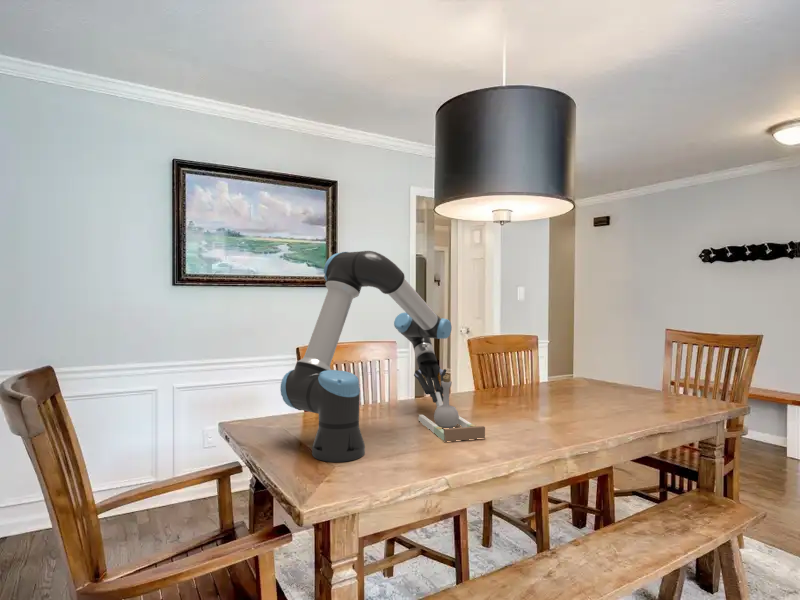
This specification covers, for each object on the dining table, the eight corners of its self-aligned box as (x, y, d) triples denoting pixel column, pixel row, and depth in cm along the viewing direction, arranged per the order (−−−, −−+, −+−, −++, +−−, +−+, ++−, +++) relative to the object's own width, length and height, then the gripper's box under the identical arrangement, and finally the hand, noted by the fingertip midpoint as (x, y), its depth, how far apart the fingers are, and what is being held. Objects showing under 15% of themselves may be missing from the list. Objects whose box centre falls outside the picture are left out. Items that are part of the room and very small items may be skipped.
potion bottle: (460, 424, 172) (460, 374, 172) (456, 431, 164) (456, 378, 163) (435, 422, 174) (436, 373, 174) (431, 429, 166) (431, 377, 166)
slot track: (485, 439, 155) (485, 426, 155) (444, 442, 151) (444, 429, 151) (453, 418, 180) (454, 408, 180) (418, 421, 176) (418, 410, 176)
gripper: (412, 351, 185) (426, 404, 169) (443, 350, 189) (460, 402, 173) (407, 363, 190) (421, 416, 174) (438, 362, 194) (454, 413, 178)
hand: (441, 409), depth 174 cm, fingers closed
